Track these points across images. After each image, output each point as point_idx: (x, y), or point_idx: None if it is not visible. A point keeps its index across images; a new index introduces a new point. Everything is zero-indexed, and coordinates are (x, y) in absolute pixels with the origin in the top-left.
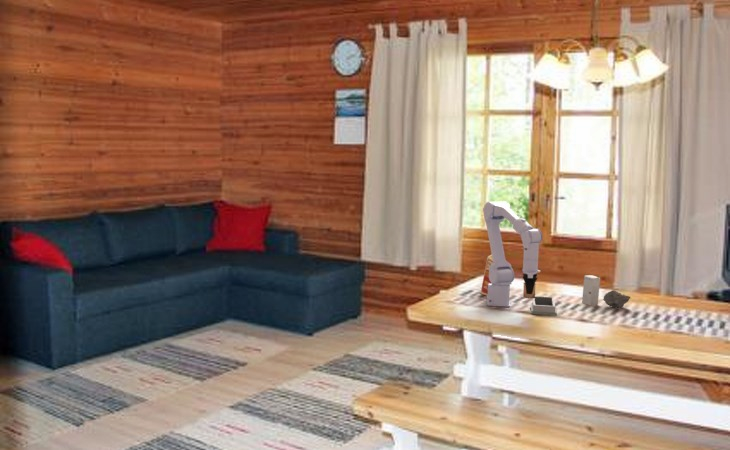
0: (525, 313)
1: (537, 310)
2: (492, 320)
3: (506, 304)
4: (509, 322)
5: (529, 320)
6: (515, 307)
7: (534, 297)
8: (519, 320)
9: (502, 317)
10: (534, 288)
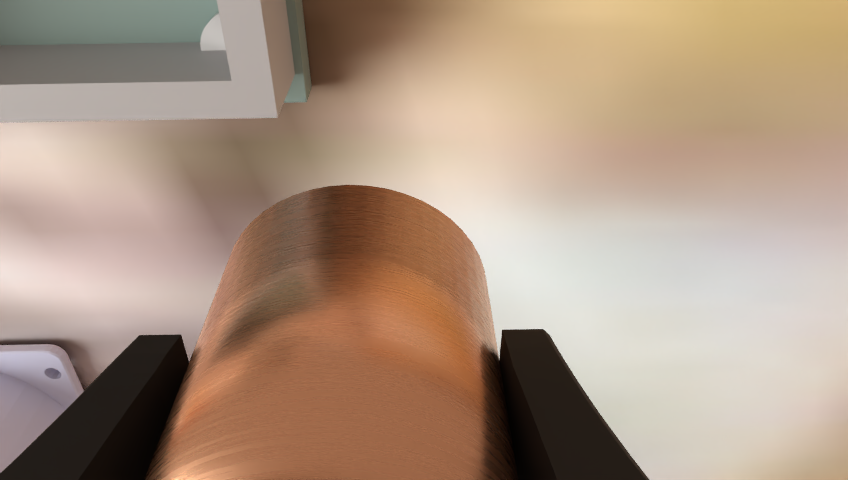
0: (324, 165)
1: (282, 6)
2: (739, 446)
3: (27, 389)
4: (831, 322)
5: (738, 113)
6: (25, 284)
7: (408, 204)
8: (738, 231)
9: (605, 384)
10: (437, 394)
